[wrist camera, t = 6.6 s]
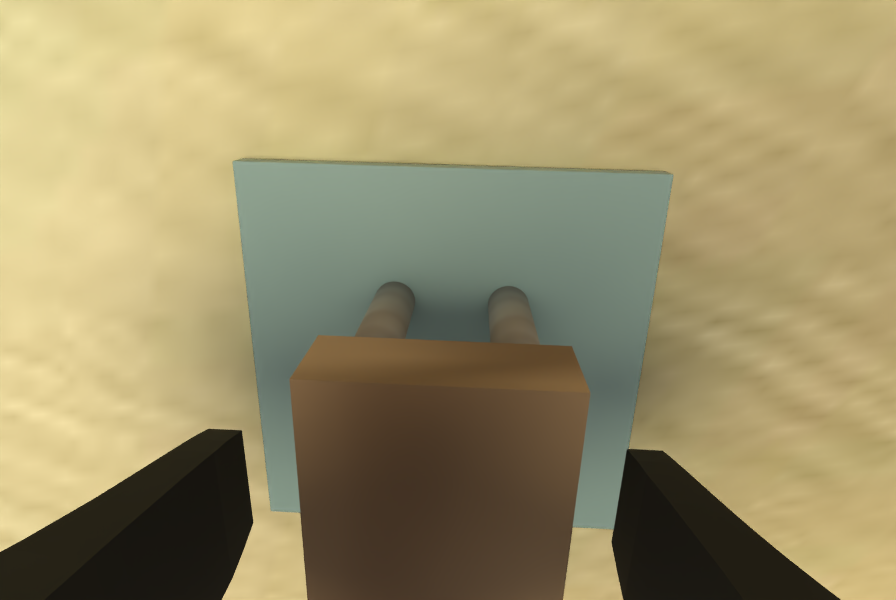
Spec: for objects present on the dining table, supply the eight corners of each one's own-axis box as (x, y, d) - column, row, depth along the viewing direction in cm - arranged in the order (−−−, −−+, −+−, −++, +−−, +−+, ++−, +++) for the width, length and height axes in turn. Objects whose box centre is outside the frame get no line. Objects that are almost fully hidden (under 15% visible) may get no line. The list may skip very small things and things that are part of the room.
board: (664, 171, 13) (673, 174, 12) (610, 514, 16) (614, 529, 16) (242, 158, 13) (232, 161, 13) (277, 497, 17) (270, 511, 16)
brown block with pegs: (543, 275, 13) (590, 392, 8) (529, 431, 15) (560, 616, 9) (362, 268, 13) (289, 378, 8) (366, 423, 15) (307, 602, 10)
